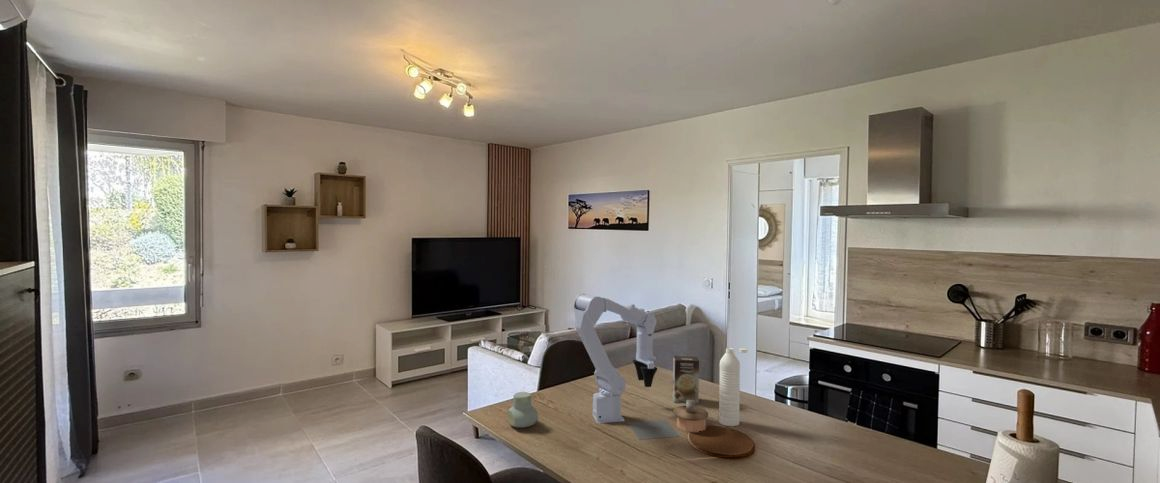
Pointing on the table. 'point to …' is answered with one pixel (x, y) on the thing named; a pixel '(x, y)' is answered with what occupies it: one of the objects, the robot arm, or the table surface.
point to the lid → (690, 412)
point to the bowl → (691, 425)
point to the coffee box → (685, 379)
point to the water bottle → (729, 388)
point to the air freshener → (522, 411)
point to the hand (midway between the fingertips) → (644, 383)
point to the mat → (653, 429)
